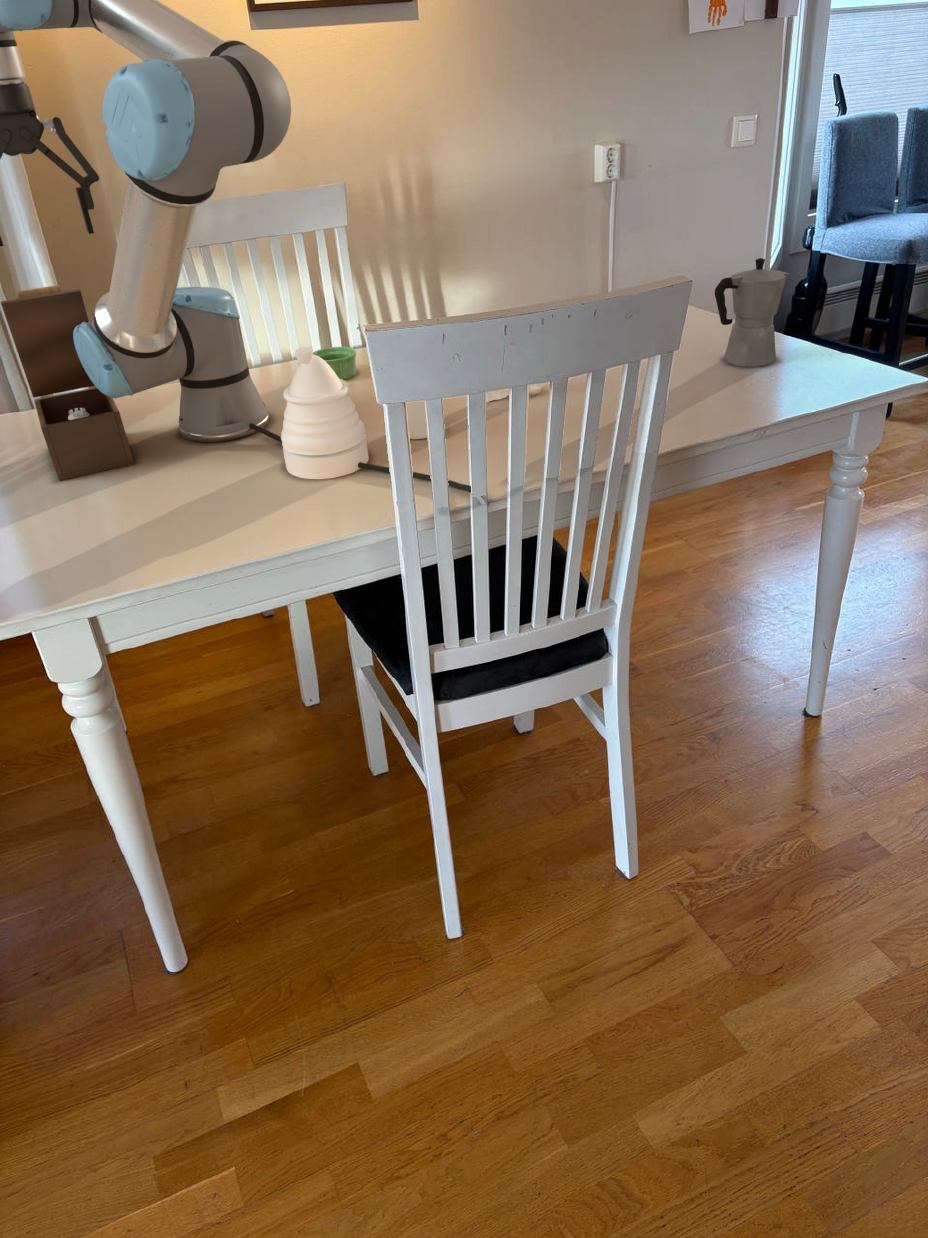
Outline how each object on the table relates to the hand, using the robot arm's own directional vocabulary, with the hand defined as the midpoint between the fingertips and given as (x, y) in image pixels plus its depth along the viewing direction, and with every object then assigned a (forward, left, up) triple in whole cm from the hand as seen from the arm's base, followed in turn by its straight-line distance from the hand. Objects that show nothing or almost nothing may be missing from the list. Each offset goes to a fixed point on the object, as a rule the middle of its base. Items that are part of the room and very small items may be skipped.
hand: (46, 238), depth 143 cm
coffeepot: (-103, -57, -32) cm, 122 cm away
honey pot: (-48, +4, -32) cm, 58 cm away
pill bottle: (-57, -11, -32) cm, 66 cm away
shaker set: (-67, -31, -32) cm, 80 cm away
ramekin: (-28, -35, -32) cm, 55 cm away
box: (-7, +11, -32) cm, 34 cm away
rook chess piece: (-9, +13, -31) cm, 35 cm away
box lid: (-3, +7, -15) cm, 17 cm away
